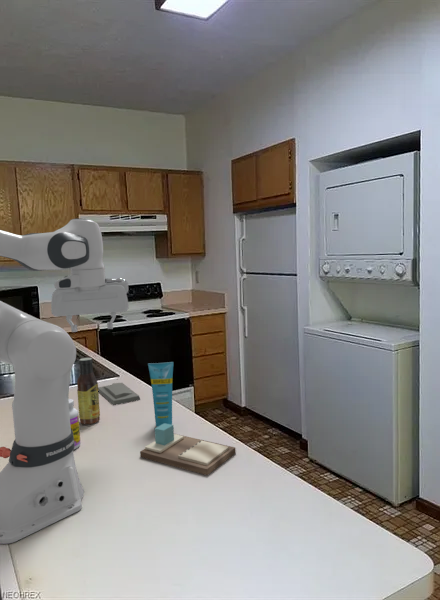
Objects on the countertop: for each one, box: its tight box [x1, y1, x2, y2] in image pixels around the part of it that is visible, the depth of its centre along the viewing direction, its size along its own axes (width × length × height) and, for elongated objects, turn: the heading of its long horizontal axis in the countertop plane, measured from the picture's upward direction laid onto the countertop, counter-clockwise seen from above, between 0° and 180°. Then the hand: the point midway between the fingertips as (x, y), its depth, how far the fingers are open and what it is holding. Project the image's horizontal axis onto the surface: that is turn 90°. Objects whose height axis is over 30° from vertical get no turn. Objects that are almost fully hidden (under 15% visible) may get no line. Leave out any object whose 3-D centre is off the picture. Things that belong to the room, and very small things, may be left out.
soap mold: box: [98, 382, 141, 406], centre depth 170 cm, size 10×20×4 cm, turn 29°
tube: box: [147, 361, 174, 427], centre depth 138 cm, size 7×5×19 cm, turn 98°
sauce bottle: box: [76, 357, 101, 425], centre depth 143 cm, size 7×6×20 cm
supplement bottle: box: [69, 398, 81, 451], centre depth 126 cm, size 7×7×13 cm
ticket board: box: [139, 433, 237, 476], centre depth 118 cm, size 13×20×2 cm, turn 58°
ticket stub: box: [144, 423, 185, 453], centre depth 122 cm, size 10×5×5 cm, turn 148°
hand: (92, 330), depth 127 cm, fingers open, 8 cm apart
